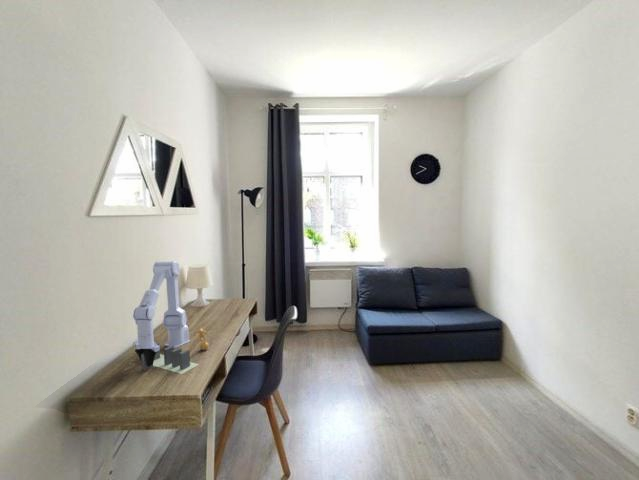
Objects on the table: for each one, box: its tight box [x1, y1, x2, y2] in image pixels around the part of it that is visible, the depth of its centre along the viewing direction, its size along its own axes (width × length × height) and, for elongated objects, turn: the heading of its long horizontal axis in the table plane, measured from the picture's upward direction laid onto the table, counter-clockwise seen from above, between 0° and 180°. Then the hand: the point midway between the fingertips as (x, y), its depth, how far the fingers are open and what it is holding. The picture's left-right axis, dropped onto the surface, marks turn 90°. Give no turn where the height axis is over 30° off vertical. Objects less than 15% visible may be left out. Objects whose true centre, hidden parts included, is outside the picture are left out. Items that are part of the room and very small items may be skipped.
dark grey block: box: [171, 347, 183, 368], centre depth 134 cm, size 2×4×7 cm, turn 154°
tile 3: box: [163, 346, 175, 365], centre depth 136 cm, size 2×4×7 cm, turn 154°
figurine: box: [193, 327, 211, 351], centre depth 149 cm, size 8×6×12 cm
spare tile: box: [141, 354, 154, 371], centre depth 132 cm, size 2×4×7 cm, turn 154°
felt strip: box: [153, 353, 199, 375], centre depth 137 cm, size 9×26×1 cm, turn 64°
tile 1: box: [154, 341, 161, 360], centre depth 141 cm, size 2×4×7 cm, turn 154°
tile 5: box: [179, 349, 191, 370], centre depth 132 cm, size 2×4×7 cm, turn 154°
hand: (147, 364), depth 132 cm, fingers open, 3 cm apart
